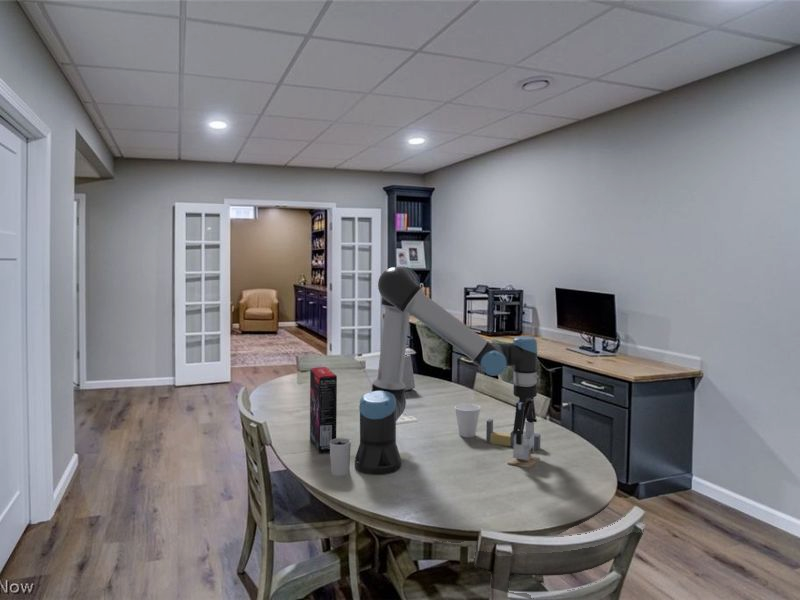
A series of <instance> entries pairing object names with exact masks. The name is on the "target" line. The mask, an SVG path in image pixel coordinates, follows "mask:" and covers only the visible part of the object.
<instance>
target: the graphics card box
mask: <svg viewBox="0 0 800 600" xmlns="http://www.w3.org/2000/svg"><path fill="white" fill-rule="evenodd" d="M309 370H310V371H309V379H310V380H309V381H310V382H309V389H310V390H309V441H310V442H311V443H312V445H313V447H314V448H315V449H316V451H317V452H318V454H324V453H330V440H332V439H336V438H337V420H338V419H337V414H338V412H337V409H338V408H337V407H338V405H337V404H338V403H337V400H338V398H337V397H338V396H337V394H338V391H337V388H338V387H337V384H338V376H337V375H336V374H335V372H333V371H331V370H330V369H329V368H328V367H327V366H317V367H313V368H310V369H309Z"/></svg>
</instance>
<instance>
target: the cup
mask: <svg viewBox="0 0 800 600" xmlns="http://www.w3.org/2000/svg"><path fill="white" fill-rule="evenodd" d="M454 410H455V416H456V422H457V427H458V428H457V429H458V434H459V436H460V437H462V438H466V439H467V438H469V439H470V438H474V437H475V436H476V434H477V427H478V424H479V423H478V422H479V418H480V417H479V416H480V411H481V410H482V407H481V406H480V405H477V404H473V403H460V404H457V405H455V406H454Z"/></svg>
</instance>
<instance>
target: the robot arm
mask: <svg viewBox="0 0 800 600" xmlns="http://www.w3.org/2000/svg"><path fill="white" fill-rule="evenodd" d="M377 282H378V283H377V287H378V288H377V289H378V292H379V293H380V296H381V304H380V305H381V306H382V307H383V309H384V316H383V317H384V318H383V327H382V336H381V344H380V352H379V361H378V370H377V377H376V379H374V380H373V381H372V383H371V391H370V392H366V393H365V394H363V395H362V396H361V398H360V400H359V406H358V407H359V409H358V410H359V444H358V448H357V451H356V454H355V457H354V469H355V470H356V471H358V472H359V473H361V474H367V475H374V476H375V475H376V476H377V475H378V476H379V475H388V474H393V473H395V472H397V471H399V470H400V469H401V468H402V457H401V454H400V452H399V448H398V446H397V422H398V420H399V419H400V417H401V416H402V415H403V414H404V411H405V408H406V403H407V400H406V391H405V389H406V385H405V384H404V383H403V381H402V377H403V368H404V360H405V352H407V351H406V350H407V342H408V333H409V323H410V316H411V315H412V316H413V317H414V318H415V319H417V320H418V321H419V322H421V323H422V324H423V325H425V326H426V327H427V328H428V329H430V330H432V332H434V333H435V334H437V336H440V337H441V338H442V339H444V340H445V341H446V342H447V343H449V344H450V345H452V346H453V347H454V348H456V349H457V350H458V351H460V352H461V353H462V354H464V355H465V356H466V357H468V359H470V360H471V361H473V362H474V363H475V364H476V365H478V366H479V367H480V368H481V370H482V371H483V372H484V373H485V374H486V375H488V376H491V377H492V376H494V377H496V376H499V375H501V374H502V373H504V371H505V370H506V367H513V377H512V378H513V381H512V382H513V383H514V384H513V396H515V397H516V398H519V400H518V401H517V402H516V403H515V414H514V423H513V430H512V431H511V432H512V433H513V434H515V453H516V454H524V434H523V431H525V432H532V433H534V434H535V423H537V420H538V419H537V415H536V409H535V402H534V400H535V399H534V398H535V397H537V396H538V386H537V382H538V378H539V374H538V343H537V342H538V341H537V339H536V338H534V337H531V336H516V337H514V339H513V342H511V343H505V342H504V343H501V342H499V343H498V342H497V343H495V342H489V341H488V340H487V339H485V338H483V337H482V336H481V335H479V334H478V333H477V332H476V331H474V330H473V329H471V328H470V327H469V326H467V325H466V324H465V323H464V322H462V321H461V320H459V318H457V317H456V316H454V315H452V314H451V313H450V312H449V311H447V310H446V309H445V308H443V307H442V306H441V305H439V304H438V303H437V302H435V301H434V300H433V299H431V298H430V297H428V295H426V294H424V291H423V288H422V287H421V283H420V278H419V276H418V274H417V273H416V272H415V271H414V270H413V269H411V268H410V267H406V266H392V267H390V268H387V269H386V270H384V271H383V272H382V273H381V275H380V276H379V279H378V281H377ZM524 429H525V430H524Z"/></svg>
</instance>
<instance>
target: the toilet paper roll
mask: <svg viewBox="0 0 800 600" xmlns="http://www.w3.org/2000/svg"><path fill="white" fill-rule="evenodd" d="M351 445H352V441H351V439H349V438H345V437H339V438H337V437H336V439H332V440H330V452H329V455H330V456H329V457H330V473H331V475H332V476H334V477H343V476H347V475H349V474H350V468H351V448H352V447H351Z"/></svg>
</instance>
